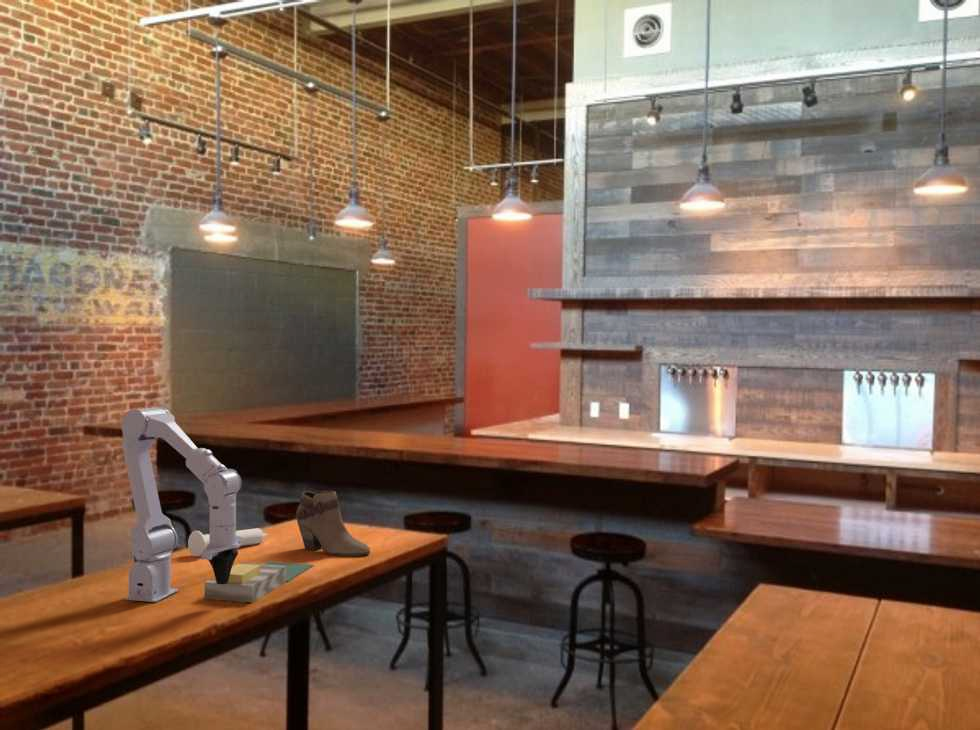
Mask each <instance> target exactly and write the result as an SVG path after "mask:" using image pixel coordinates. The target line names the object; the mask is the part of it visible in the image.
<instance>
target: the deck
mask: <svg viewBox="0 0 980 730" xmlns="http://www.w3.org/2000/svg"><path fill="white" fill-rule="evenodd" d="M239 564H249V565H260V574H259V575H257V576H255V577H253V578H252V579H250V580H248V581H247V582H245V583H243V584H239V583H227V584H225V585H223V584H217V582H216V579H215V576H214V577H211V578H210V579H208V580H206V581H204V600H208V599H215V600H214V601H220V600H226V601H225V602H232V601H238V602H237V603H244V602H250V603H249V604H254V603H255V602H256V600H257V601H258V600H260V599H262V598H263V597H265V596H266V595H268V594H269V593H271V592H272V591H274V590H276V589H277V588H279V587H280V586H282V585H284V584H286V583H287V582H286V566H279V565H266V564H265V563H253V562H252V563H249V562H240V563H239ZM264 595H265V596H264ZM254 601H255V602H254Z"/></svg>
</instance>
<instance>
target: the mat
mask: <svg viewBox="0 0 980 730" xmlns="http://www.w3.org/2000/svg"><path fill="white" fill-rule="evenodd" d="M264 564H266V565H279V566H286V582H285V583H289V582H291V581H293V579H295V578H297V577H299V576H300V575H301V574H302V573H305V572H306V571H308V570H310V569H311V568H313V567H314V564H309V563H297V562H282V561H270V560H269V561H267V562H264Z"/></svg>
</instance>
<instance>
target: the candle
mask: <svg viewBox="0 0 980 730" xmlns="http://www.w3.org/2000/svg"><path fill="white" fill-rule="evenodd" d="M209 535H210V533H209V534H208V533H207V534H203V532H201V531H199V530H194V531H192V532H191V533H190V534H189V537H188V540H187V548H188V551H189V553H190V554H191V555H192V556H193V557H194V556H197V557H196V558H199V557H202V550H204V549H205V548H206V547H207V545H208V544H209ZM236 536H240V537H242V545H240V547H244V546H249V545H251V546H252V545H258V543H259V544H261V543H262V542H263V540H264V538H265V537H267V536H268V533H264V532H263V530H262V529H261V528H258V527H256V528H248V529H239V530H236Z"/></svg>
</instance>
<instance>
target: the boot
mask: <svg viewBox="0 0 980 730" xmlns="http://www.w3.org/2000/svg"><path fill="white" fill-rule="evenodd" d="M295 519H296V522H297V525H298V528H299V532H300V536H301V538H302V542H303V546H304V547H303V548H304V550H307V551H311V552H312V551H313V552H315V551H319V550H322V551H323V552H324V554H326V555H331V556H341V557H360V556H361V557H363V556H368V555H370V553H371V551H370V550H371V548H370V546H369V545H367V544H366V543H364V542H362V541H361V540H359V539H357V538H355V537H354V536H353V535H352V534H350V532H349V531H348V529H347V527H346V526H345V524H344V523H345V522H344V520H343V517H342V513H341V509H340V502H339V498H338V497H337V492H336V491H334V490H328V491H327V490H326V491H321V492H320V493H317V492H313V491H308V490H307V491H306V490H305V491H303V492H302V494H301V495H300V499H299V504H298V507H297V509H296V514H295Z"/></svg>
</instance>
